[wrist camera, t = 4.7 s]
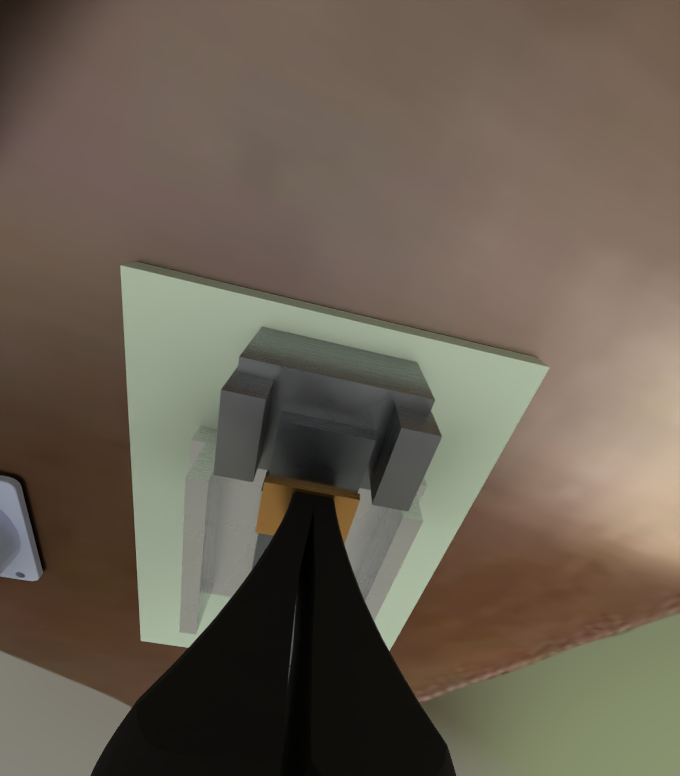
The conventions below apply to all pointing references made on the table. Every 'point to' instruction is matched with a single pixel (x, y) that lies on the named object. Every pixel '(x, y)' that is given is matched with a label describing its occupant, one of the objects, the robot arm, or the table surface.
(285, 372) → the hinge and catch
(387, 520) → the heat sink
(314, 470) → the bar
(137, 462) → the pale green board
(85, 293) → the table surface
